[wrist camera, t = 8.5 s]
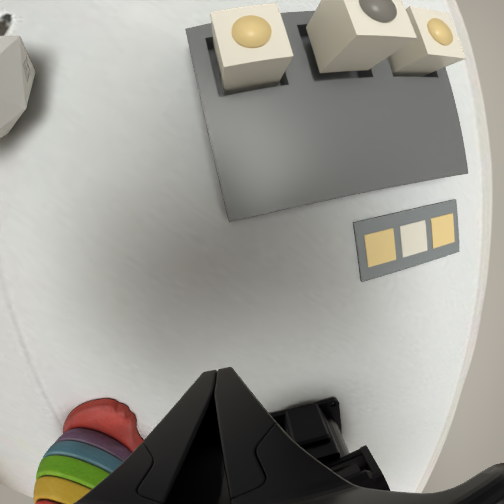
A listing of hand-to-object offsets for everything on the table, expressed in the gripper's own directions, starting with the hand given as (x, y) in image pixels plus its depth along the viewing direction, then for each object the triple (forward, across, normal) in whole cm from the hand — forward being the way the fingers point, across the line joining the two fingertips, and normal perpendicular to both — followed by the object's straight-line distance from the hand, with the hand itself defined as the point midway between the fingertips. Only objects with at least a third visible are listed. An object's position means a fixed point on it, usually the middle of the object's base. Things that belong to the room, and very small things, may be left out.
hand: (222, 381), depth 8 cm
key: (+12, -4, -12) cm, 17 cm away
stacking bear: (+13, +16, +15) cm, 26 cm away
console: (+13, -10, -9) cm, 18 cm away
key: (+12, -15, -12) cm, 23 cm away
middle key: (+10, -9, -12) cm, 18 cm away
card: (+13, -14, +2) cm, 19 cm away
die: (+13, +14, -17) cm, 26 cm away
